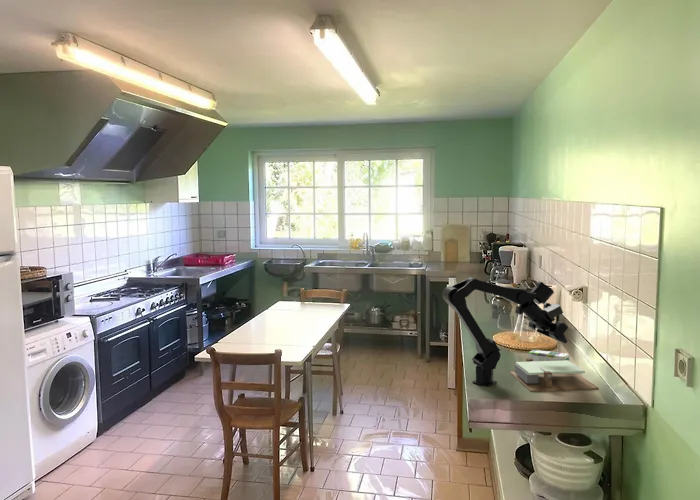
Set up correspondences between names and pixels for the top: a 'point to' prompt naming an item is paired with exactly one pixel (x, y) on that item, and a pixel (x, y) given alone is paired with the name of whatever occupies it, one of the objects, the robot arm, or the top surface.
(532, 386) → the trapdoor frame
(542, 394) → the top surface
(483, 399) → the top surface
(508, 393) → the top surface
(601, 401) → the top surface
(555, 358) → the syrup box
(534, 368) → the trapdoor
